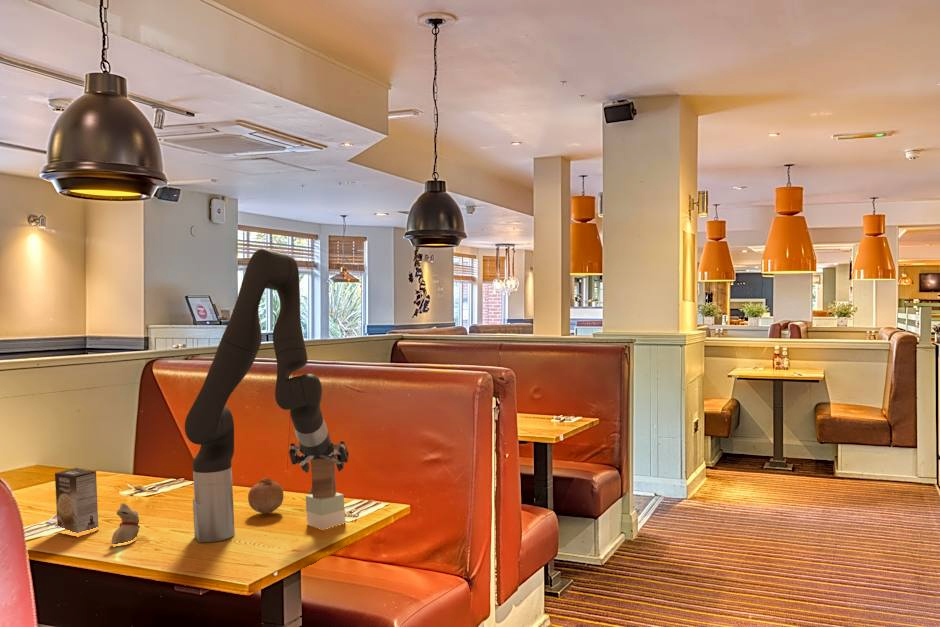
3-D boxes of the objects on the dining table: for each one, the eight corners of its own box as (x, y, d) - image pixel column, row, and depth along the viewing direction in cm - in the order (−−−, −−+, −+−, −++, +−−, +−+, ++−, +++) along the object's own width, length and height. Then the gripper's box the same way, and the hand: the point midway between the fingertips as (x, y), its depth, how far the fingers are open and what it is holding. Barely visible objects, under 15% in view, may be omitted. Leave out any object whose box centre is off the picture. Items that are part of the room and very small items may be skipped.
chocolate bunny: (146, 540, 197) (144, 501, 196) (113, 548, 191) (111, 507, 191) (137, 536, 201) (135, 497, 200) (105, 544, 195) (103, 504, 195)
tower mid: (321, 515, 200) (320, 500, 200) (306, 510, 205) (305, 495, 204) (344, 509, 205) (343, 494, 204) (328, 505, 210) (328, 490, 209)
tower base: (322, 531, 200) (322, 515, 200) (307, 526, 205) (306, 510, 205) (345, 524, 205) (344, 509, 205) (329, 519, 210) (329, 505, 210)
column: (332, 497, 202) (330, 458, 202) (312, 497, 202) (310, 459, 202) (335, 492, 207) (334, 454, 207) (316, 492, 207) (315, 455, 207)
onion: (291, 512, 218) (289, 476, 218) (265, 521, 210) (263, 483, 210) (267, 507, 223) (266, 472, 223) (241, 516, 215) (239, 480, 215)
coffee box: (56, 533, 206) (53, 472, 205) (79, 526, 211) (76, 467, 211) (77, 538, 201) (74, 475, 201) (100, 531, 207) (97, 470, 206)
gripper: (342, 419, 194) (352, 455, 206) (285, 421, 195) (298, 457, 206) (339, 444, 189) (350, 480, 201) (280, 447, 189) (294, 482, 201)
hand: (323, 468), depth 204 cm, fingers open, 8 cm apart
